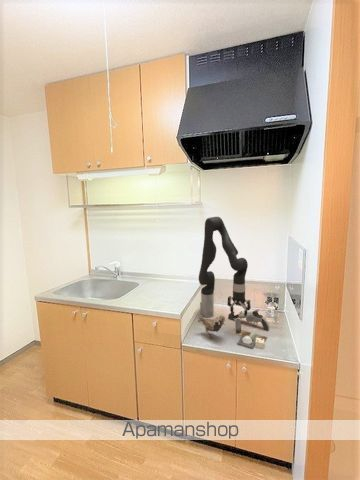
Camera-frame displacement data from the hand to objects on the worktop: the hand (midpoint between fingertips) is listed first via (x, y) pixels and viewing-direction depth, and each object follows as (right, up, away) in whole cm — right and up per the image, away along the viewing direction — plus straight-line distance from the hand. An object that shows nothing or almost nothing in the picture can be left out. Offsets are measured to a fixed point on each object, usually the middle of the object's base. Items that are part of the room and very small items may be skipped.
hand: (238, 314), depth 153 cm
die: (+9, -16, -13) cm, 22 cm away
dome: (+3, -15, -10) cm, 18 cm away
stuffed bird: (-18, -15, -2) cm, 23 cm away
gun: (+9, -12, +12) cm, 19 cm away
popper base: (+3, -15, -10) cm, 18 cm away
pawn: (0, -12, +2) cm, 12 cm away
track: (+7, -14, -2) cm, 15 cm away
